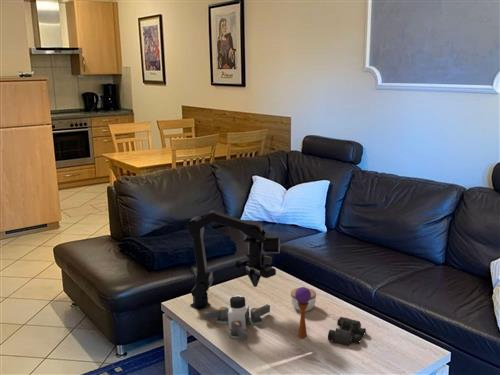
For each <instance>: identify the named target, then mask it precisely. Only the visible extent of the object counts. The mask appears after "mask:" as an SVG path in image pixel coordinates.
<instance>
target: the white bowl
mask: <svg viewBox="0 0 500 375" xmlns="http://www.w3.org/2000/svg"><path fill="white" fill-rule="evenodd" d="M298 288H299V287H297V288H294V289H292V290H291V291H290V297H291V304H292V307H293V308H294V309H295V310H296V311H298V312H301V310H300V308H299V306H298V303H297V302H298V301H297V300H296V297H295V292H296V290H297V289H298ZM306 288H307V289H309V290H310V292H311V298H310V300H309V301H308V303H309V304H308V306H307V308H306V309H305V311H304V313H305V312H310V311H311V310H312V309H313V308H314V307H315V306H316V299H317V298H316V297H317V292H316V291H315V290H314V289H313V288H309V287H306Z"/></svg>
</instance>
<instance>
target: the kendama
mask: <svg viewBox="0 0 500 375" xmlns="http://www.w3.org/2000/svg"><path fill="white" fill-rule="evenodd" d="M297 288H298V289H297V290H296V292H295V297H296V300H297V301H298V302H297V303H298V306H299V308H300V310H301V311H300V318H299V319H300V320H299V321H300V322H299V328H298V335H297V336H298V338H299V339H306V338H308V336H307V334H308V333H307V325H306V316H305V312H306V311H305V309H306V308H307V306H308V304H309V303H308V301H309V300H310V298H311V292H310V290H309V289H310V288H309V289H307V288H308V287H305V286H300V287H297ZM304 311H305V312H304Z"/></svg>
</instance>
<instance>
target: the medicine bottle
mask: <svg viewBox="0 0 500 375" xmlns="http://www.w3.org/2000/svg"><path fill="white" fill-rule="evenodd" d="M229 305H230V308H228V309H229V312H228V321H229V323H228V328H229V329H230V330H231V323H232V322H233V321H241V322H242V328H243V329H244V330H247V329H248V326H249V325H250V324H249V321H250V306H249V304H246V298H245V296H243V295H239V294H238V295H233V296H232V297H230V299H229Z"/></svg>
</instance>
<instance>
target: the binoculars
mask: <svg viewBox="0 0 500 375" xmlns="http://www.w3.org/2000/svg"><path fill="white" fill-rule="evenodd" d="M336 324H337V326H338V327H339V326H340V327H339V328H335V330H332V329H329V331H328V334H327V340H328V341H330V342H334V343H336V344H342V345H345V344H346V346H349V345H350V344H352V343H353V341H354V343H357V344H359V341H360V340H361V341H362V338H363V335H364V333H365V334H366V333H367V332H366V331H367V329H366V327H362V323H361V322H360V321H359V320H356V319H352V318H349V317H345V316H343V317H342V316H340V317H339V318H338V319H337V322H336ZM353 333H354V334H353ZM364 336H365V335H364ZM350 346H351V345H350Z"/></svg>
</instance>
